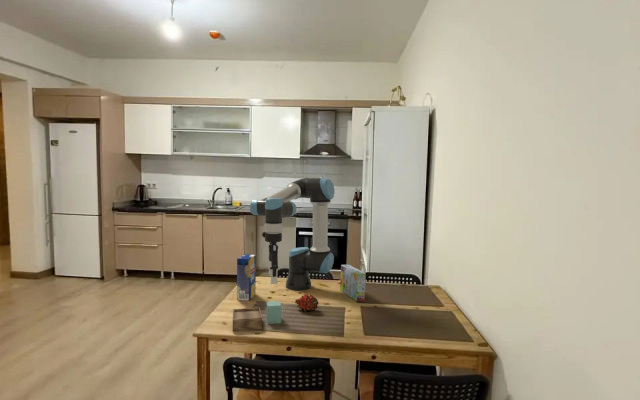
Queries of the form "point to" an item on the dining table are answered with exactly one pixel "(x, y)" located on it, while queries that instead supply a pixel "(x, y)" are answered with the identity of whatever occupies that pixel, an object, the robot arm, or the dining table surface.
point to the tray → (247, 319)
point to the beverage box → (246, 277)
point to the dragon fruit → (307, 302)
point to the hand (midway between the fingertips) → (272, 279)
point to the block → (273, 312)
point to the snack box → (353, 282)
